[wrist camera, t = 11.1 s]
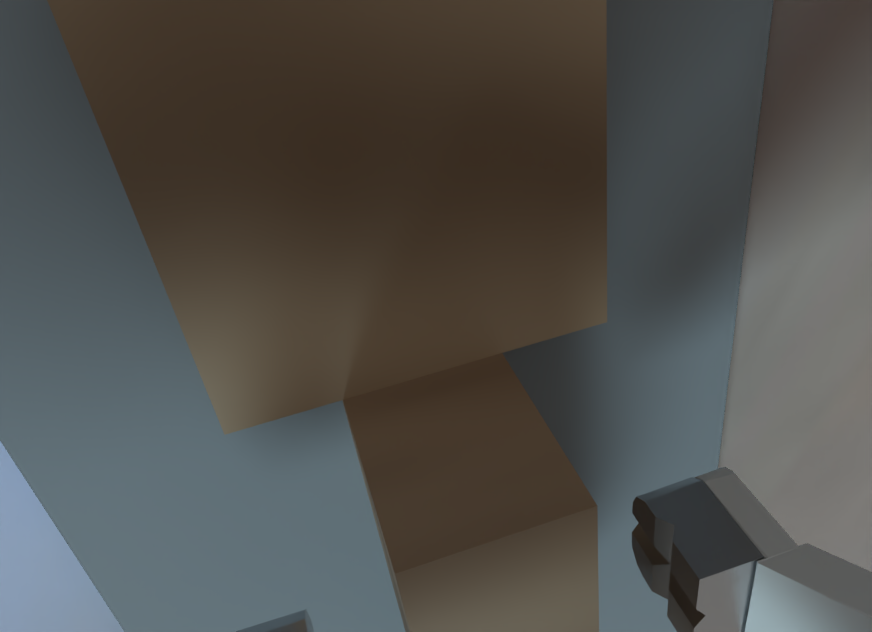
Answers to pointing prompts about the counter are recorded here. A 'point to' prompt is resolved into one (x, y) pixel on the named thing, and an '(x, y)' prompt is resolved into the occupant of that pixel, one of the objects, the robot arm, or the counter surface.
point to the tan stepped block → (382, 253)
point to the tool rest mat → (327, 425)
